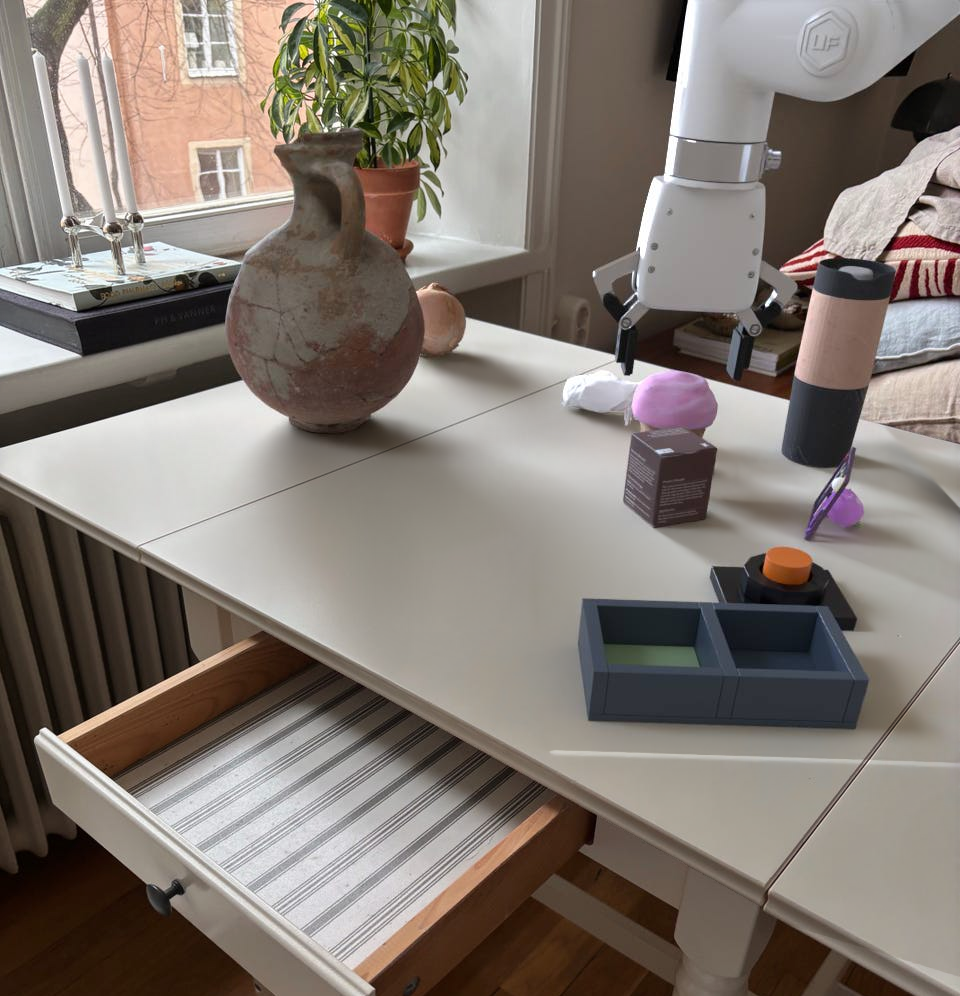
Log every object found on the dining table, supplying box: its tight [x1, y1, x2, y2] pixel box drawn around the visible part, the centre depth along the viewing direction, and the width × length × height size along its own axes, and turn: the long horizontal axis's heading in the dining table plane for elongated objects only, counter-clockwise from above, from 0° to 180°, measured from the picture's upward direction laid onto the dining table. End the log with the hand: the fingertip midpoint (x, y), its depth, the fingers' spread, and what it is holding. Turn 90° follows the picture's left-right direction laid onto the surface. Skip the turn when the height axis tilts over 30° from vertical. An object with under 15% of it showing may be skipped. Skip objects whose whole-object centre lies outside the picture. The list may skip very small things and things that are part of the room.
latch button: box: [762, 546, 813, 585], centre depth 79 cm, size 4×4×2 cm
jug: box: [224, 127, 425, 434], centre depth 106 cm, size 22×22×30 cm
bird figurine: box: [560, 369, 642, 427], centre depth 117 cm, size 5×7×10 cm
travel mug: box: [781, 257, 897, 468], centre depth 104 cm, size 8×8×20 cm
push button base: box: [709, 552, 858, 632], centre depth 81 cm, size 10×8×3 cm
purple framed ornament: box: [804, 446, 865, 542], centre depth 92 cm, size 7×5×9 cm
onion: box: [415, 282, 467, 358], centre depth 134 cm, size 10×9×10 cm
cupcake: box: [632, 369, 719, 438], centre depth 103 cm, size 9×9×10 cm
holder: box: [577, 597, 870, 730], centre depth 70 cm, size 18×10×4 cm, turn 89°
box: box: [622, 426, 718, 528], centre depth 94 cm, size 6×6×7 cm
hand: (679, 373), depth 88 cm, fingers open, 9 cm apart
